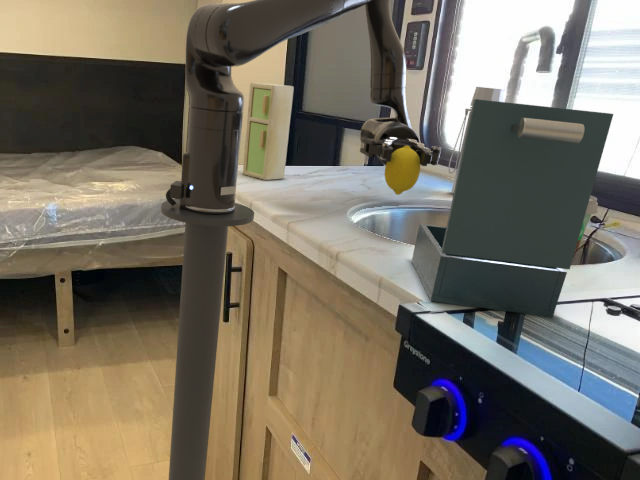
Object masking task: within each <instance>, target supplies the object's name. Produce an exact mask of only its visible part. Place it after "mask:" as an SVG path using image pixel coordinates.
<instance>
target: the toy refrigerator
mask: <svg viewBox="0 0 640 480" xmlns="http://www.w3.org/2000/svg"><path fill="white" fill-rule="evenodd" d="M249 84H250V85H249V95H248V96H249V97H248V107H247V118H246V131H245V141H244V142H245V143H244V153H243V165H242V166H243V167H242V174H243V175H245V176H249V177H253V178H256V179H258V180H259V179H260V180H264V181H269V180H270V181H271V180H283V179H284V178H285V172H286V164H287V163H286V162H287V153H288V144H289V136H290V135H289V134H290V126H291V118H292V117H291V116H292V110H293V109H292V108H293V100H294V90H295V89H294V88H295V87H294V86H293V85H285V84H277V83H266V82H265V83H264V82H250V83H249Z"/></svg>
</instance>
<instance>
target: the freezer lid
mask: <svg viewBox="0 0 640 480" xmlns="http://www.w3.org/2000/svg"><path fill="white" fill-rule="evenodd" d="M471 107H472V110H471V111H470V112H471V115H470V119H469V124H468V129H467V133H466V138H465V143H464V147H463V152H462V157H461V162H460V166H459V171H458V176H457V180H456V185H455V190H454V194H453V193H452V194H453V195H452V200H451V203H450V204H451V205H450V209H449V214H448V219H447V222H446V226H445V227H446V232H445V237H444V241H443V246H442V251H441V252H442V253H445V254H452V255H460V256H468V257H476V258H484V259H492V260H499V261H507V262H515V263H523V264H531V265H538V266H546V267H554V268H562V269H563V270H571V266H572V262H573V259H574V257H575V255H574V252H575V249H576V245H577V242H578V238H579V235H580V231H581V228H582V224H583V220H584V217H585V213H586V210H587V206H588V203H589V199H590V196H592V192H593V188H594V186H595V185H594V184H595V181H596V178H597V174H598V170H599V167H600V164H601V160H602V156H603V153H604V149H605V146H606V142H607V138H608V136H609V132H610V128H611V124H612V121H613V117H614V113H609V112H599V111H591V110H590V111H589V110H581V109H572V108H562V107H555V106H554V107H552V106H544V105H534V104H526V103H515V102H508V101H507V102H506V101H504V102H498V101H489V100H479V99H474V101H473V105H472V106H471ZM573 256H574V257H573Z"/></svg>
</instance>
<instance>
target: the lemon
mask: <svg viewBox="0 0 640 480" xmlns="http://www.w3.org/2000/svg"><path fill="white" fill-rule="evenodd" d="M384 167H385V168H384V180H385V183H386V185H387V186H388V188H390V189H391V190H392V191H393V192H394V194H395V195H398V196H400V195H401V194H402V193H403V192H406V191H409V190H411V189H412V188H413V187H414V186H415V185H416V184H417V182H418V180H419V177H420V173H421V164H420V159H419V156H418V154H417V153H416V152H415V151H414V150H412V149H411V148H410V147H409V146H404V147H403V148H400V149H397V150H396V151H394V152H393V153H392V156H391V161H390V162H387V164H386V165H385V166H384Z"/></svg>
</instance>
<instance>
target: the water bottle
mask: <svg viewBox="0 0 640 480" xmlns="http://www.w3.org/2000/svg"><path fill="white" fill-rule="evenodd" d="M505 95H506V89H503V88H494V87H493V88H492V87H485V86H484V87H483V86H476V87H475V90H474V92H473V96H472V99H471V102H470V107H469V108H465V109H464V119H463V121H462V123H461V127H460V130H459V133H458V136H457V138H456V141H455V143H454V148H453V149H452V153H451V156H450V159H449V161H448V174H454V173H455V174H454V179H453V183H452V188H451V193H452V194H454V190H455V185H456V180H457V176H458V171H459V166H460V162H461V157H462V152H463V147H464V143H465V138H466V133H467V129H468V124H469V119H470V115H471V110H472V105H473V101H474V99H479V100H489V101H498V102H505V97H506V96H505ZM467 116H468V117H467ZM466 120H467V121H466ZM460 135H461V137H460ZM459 138H460V142H459ZM458 142H459V146H458V152H457V157H456V161H455V167H454V169H453V170H452V171H451V169H450V168H451V162H452V160H453V156H454V154H455V150H456V147H457V144H458Z"/></svg>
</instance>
